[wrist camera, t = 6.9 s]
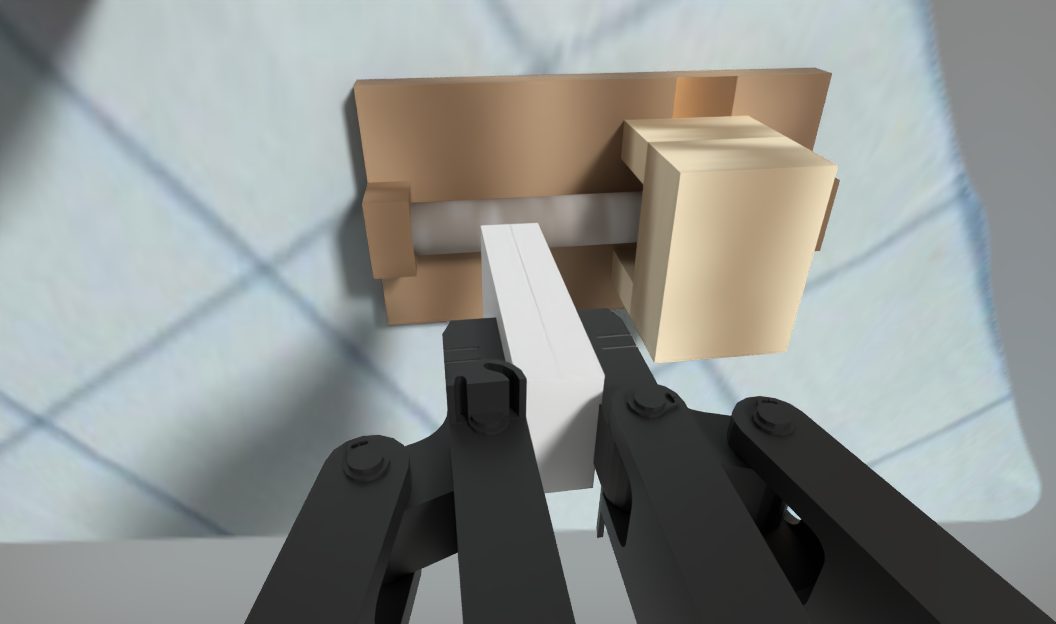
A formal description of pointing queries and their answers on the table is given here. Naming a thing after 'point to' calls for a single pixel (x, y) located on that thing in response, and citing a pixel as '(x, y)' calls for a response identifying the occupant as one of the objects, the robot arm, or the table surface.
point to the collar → (719, 235)
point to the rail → (533, 170)
